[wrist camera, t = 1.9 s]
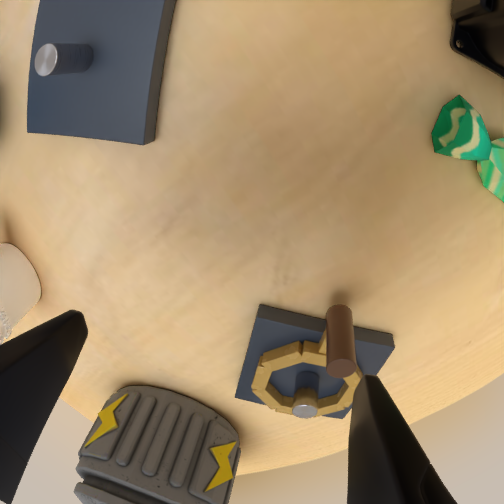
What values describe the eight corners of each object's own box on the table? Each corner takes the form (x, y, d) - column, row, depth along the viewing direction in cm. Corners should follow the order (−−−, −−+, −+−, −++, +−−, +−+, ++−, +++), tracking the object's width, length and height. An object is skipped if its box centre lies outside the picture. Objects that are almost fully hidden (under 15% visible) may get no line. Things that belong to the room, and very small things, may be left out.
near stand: (154, 141, 19) (112, 160, 15) (39, 128, 20) (-7, 144, 15) (180, -20, 13) (142, -44, 9) (53, -2, 14) (6, -6, 10)
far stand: (342, 407, 29) (342, 448, 25) (237, 385, 30) (226, 427, 25) (392, 334, 23) (401, 382, 19) (259, 303, 24) (247, 351, 20)
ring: (336, 412, 27) (335, 456, 23) (247, 394, 28) (236, 439, 23) (399, 317, 21) (412, 370, 16) (280, 289, 21) (270, 342, 17)
